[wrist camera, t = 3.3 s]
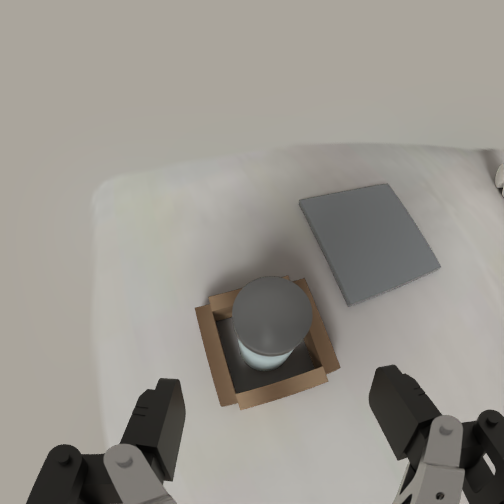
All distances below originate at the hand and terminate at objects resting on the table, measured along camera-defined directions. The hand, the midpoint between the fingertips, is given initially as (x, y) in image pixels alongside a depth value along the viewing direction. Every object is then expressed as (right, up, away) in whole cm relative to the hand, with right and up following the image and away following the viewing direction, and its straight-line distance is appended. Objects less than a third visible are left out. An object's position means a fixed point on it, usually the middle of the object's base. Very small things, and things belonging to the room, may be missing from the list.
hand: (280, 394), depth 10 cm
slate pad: (+11, +7, +17) cm, 22 cm away
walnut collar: (0, -2, +12) cm, 12 cm away
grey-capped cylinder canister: (0, -2, +12) cm, 12 cm away
